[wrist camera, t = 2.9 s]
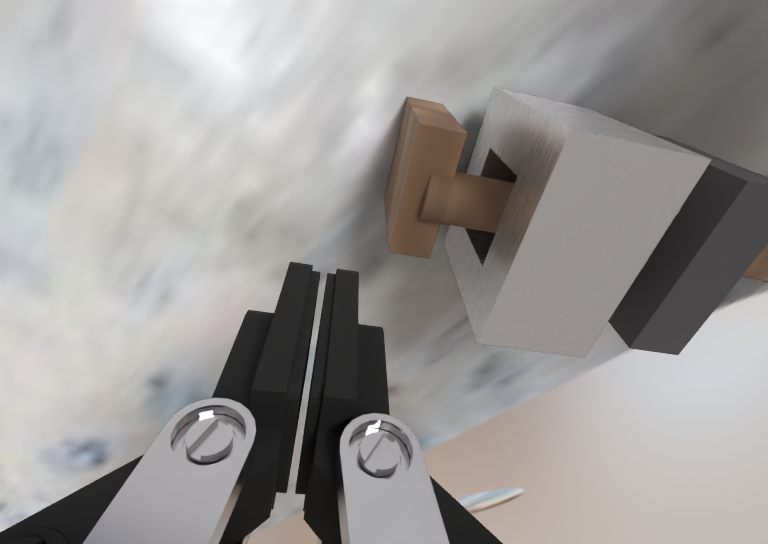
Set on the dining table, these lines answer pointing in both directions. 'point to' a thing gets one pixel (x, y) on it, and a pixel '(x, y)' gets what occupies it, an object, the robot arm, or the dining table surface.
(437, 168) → the dowel rail
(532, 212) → the sleeve
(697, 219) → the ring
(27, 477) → the dining table surface
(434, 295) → the dining table surface
